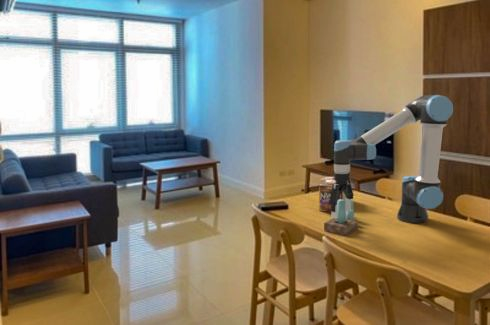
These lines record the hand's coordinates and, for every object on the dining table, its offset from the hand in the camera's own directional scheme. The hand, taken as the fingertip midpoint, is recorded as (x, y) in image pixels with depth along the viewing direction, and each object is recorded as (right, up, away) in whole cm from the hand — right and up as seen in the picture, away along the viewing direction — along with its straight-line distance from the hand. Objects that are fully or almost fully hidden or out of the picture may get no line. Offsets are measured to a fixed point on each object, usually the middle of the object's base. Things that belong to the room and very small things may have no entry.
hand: (341, 214), depth 205 cm
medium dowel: (+8, -5, +18) cm, 20 cm away
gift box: (+8, +1, +48) cm, 49 cm away
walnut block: (0, -8, +1) cm, 8 cm away
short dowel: (+7, -6, +10) cm, 14 cm away
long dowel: (0, -8, +1) cm, 8 cm away
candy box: (0, -2, +33) cm, 34 cm away
